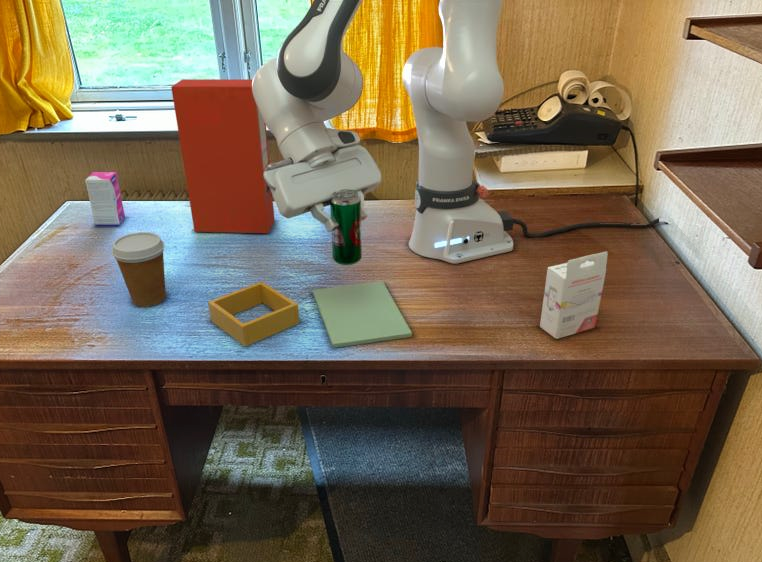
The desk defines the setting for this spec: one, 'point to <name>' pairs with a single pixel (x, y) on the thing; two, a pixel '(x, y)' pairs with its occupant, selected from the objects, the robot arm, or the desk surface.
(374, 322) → the green mat
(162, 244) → the disposable coffee cup
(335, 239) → the soda can
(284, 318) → the frame
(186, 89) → the file binder
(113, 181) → the supplement box
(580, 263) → the ink cartridge box
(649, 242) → the desk surface
